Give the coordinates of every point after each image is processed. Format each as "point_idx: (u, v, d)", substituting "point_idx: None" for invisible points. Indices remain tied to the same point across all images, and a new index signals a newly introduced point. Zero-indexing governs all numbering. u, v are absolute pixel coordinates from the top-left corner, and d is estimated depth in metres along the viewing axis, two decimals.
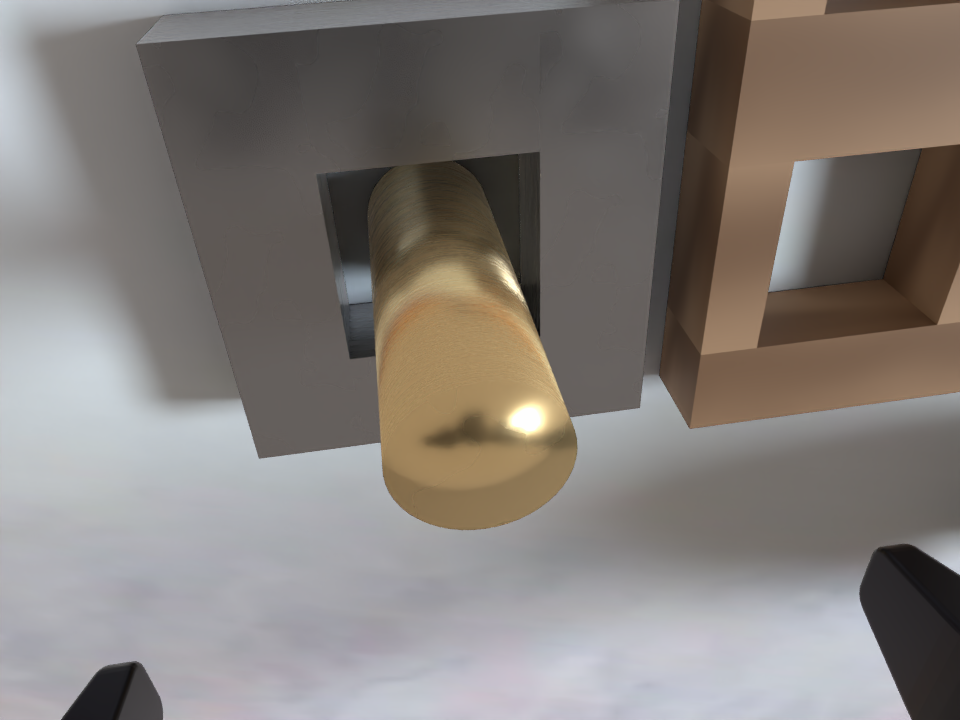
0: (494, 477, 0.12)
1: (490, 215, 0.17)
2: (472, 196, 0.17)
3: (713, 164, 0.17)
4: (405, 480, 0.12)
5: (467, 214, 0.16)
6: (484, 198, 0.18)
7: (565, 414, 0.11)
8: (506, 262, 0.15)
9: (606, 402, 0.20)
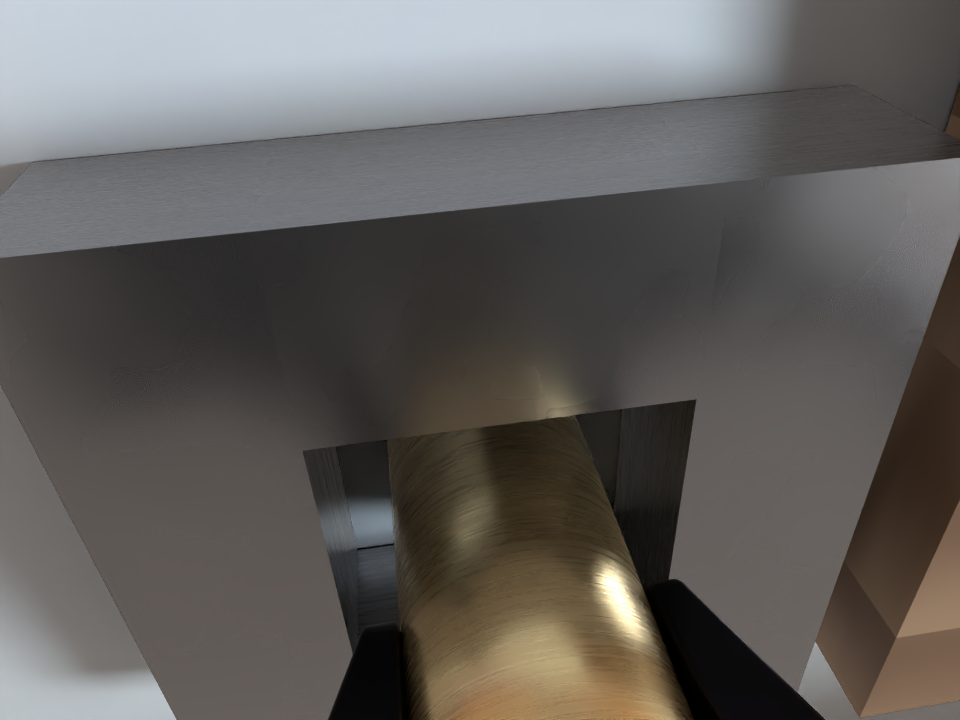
0: None
1: (595, 476, 0.10)
2: (566, 450, 0.10)
3: (957, 383, 0.10)
4: None
5: (570, 512, 0.09)
6: (578, 429, 0.11)
7: None
8: (650, 627, 0.08)
9: None
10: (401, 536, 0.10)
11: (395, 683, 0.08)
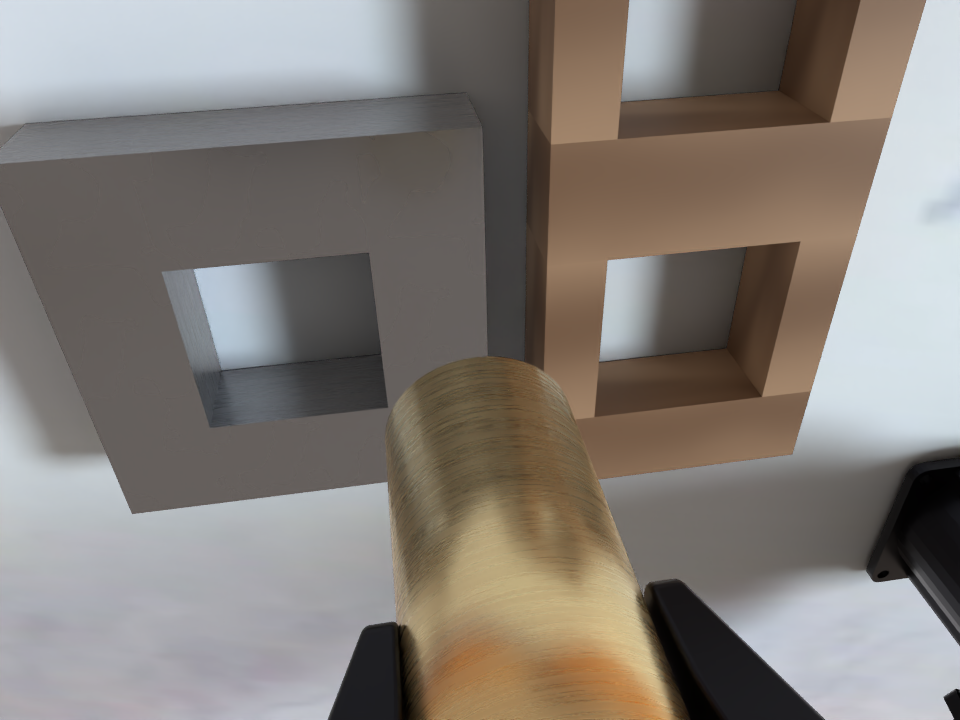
0: None
1: (593, 477, 0.10)
2: (564, 450, 0.10)
3: (540, 258, 0.19)
4: None
5: (568, 513, 0.09)
6: (576, 430, 0.11)
7: None
8: (647, 628, 0.08)
9: None
10: (398, 537, 0.10)
11: (395, 683, 0.08)
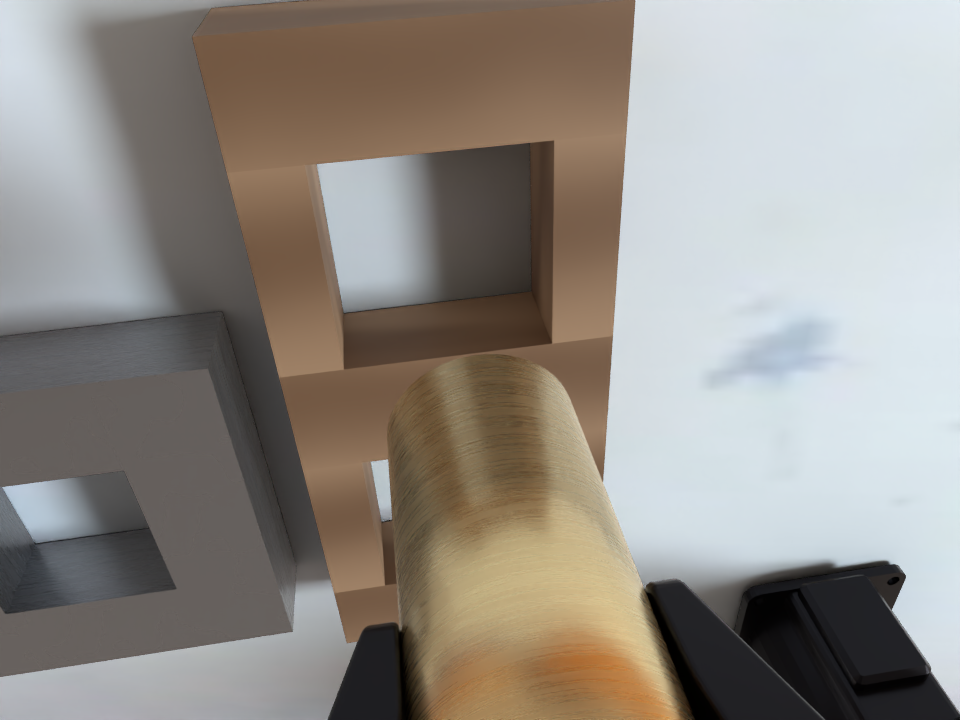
0: None
1: (596, 474, 0.10)
2: (567, 448, 0.10)
3: None
4: None
5: (571, 510, 0.09)
6: (578, 428, 0.11)
7: None
8: (651, 625, 0.08)
9: (259, 629, 0.23)
10: (401, 534, 0.10)
11: (395, 683, 0.08)
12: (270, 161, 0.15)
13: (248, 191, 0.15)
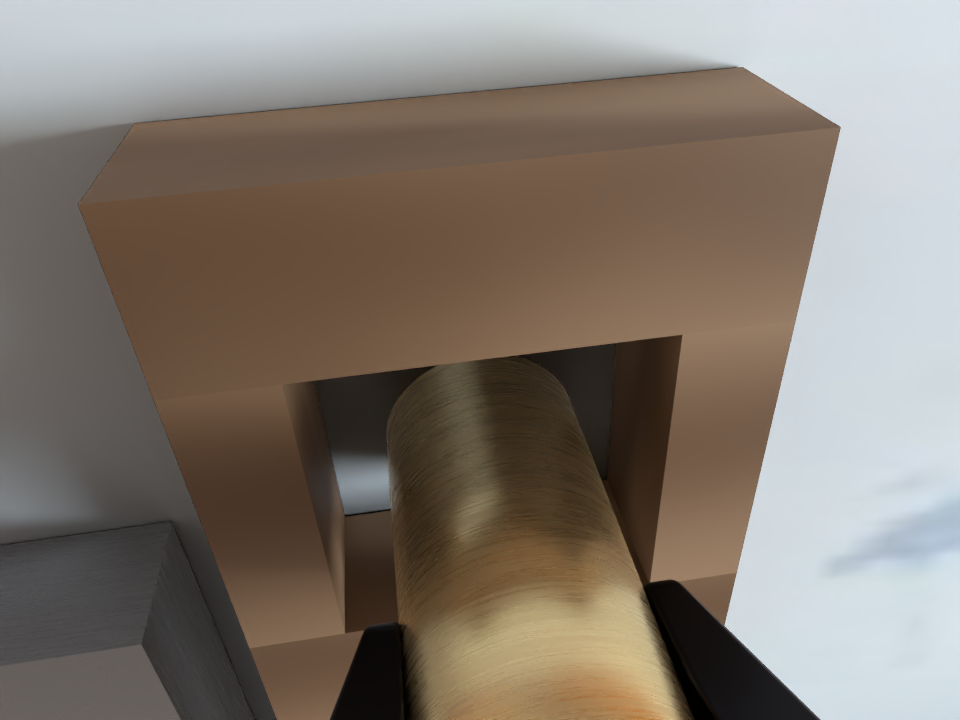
0: None
1: (595, 474, 0.10)
2: (566, 447, 0.10)
3: None
4: None
5: (571, 509, 0.09)
6: (577, 427, 0.11)
7: None
8: (650, 624, 0.08)
9: None
10: (400, 533, 0.10)
11: (397, 683, 0.08)
12: (225, 382, 0.09)
13: (191, 424, 0.09)
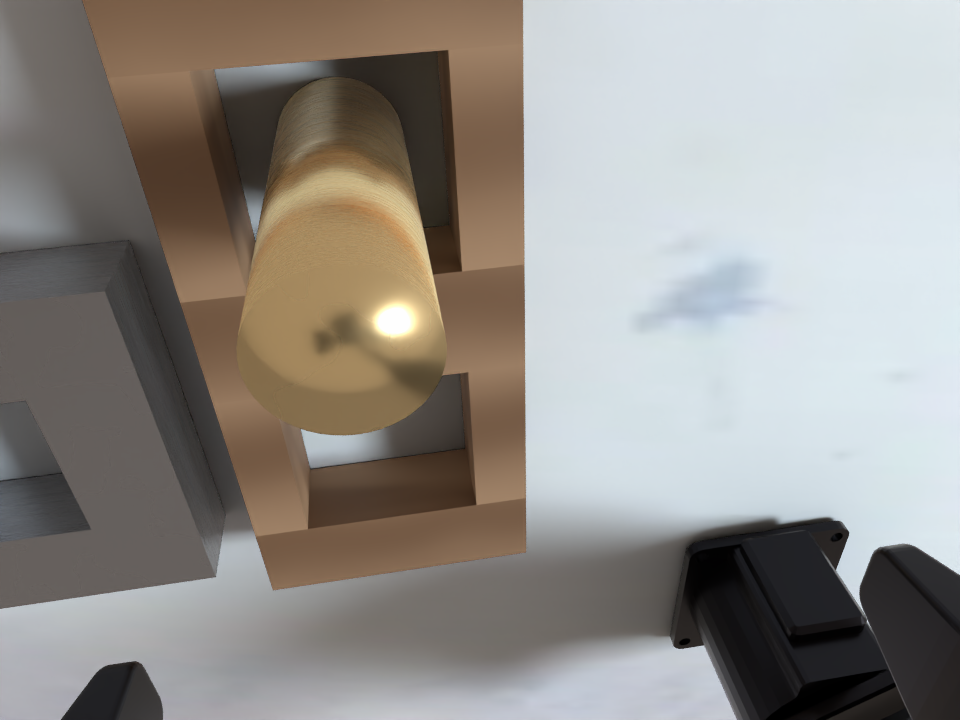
0: (360, 375, 0.11)
1: (396, 133, 0.16)
2: (376, 113, 0.16)
3: None
4: (263, 376, 0.11)
5: (365, 126, 0.15)
6: (394, 119, 0.17)
7: (429, 304, 0.11)
8: (400, 172, 0.14)
9: (180, 574, 0.22)
10: (271, 159, 0.16)
11: None
12: (152, 66, 0.14)
13: (131, 98, 0.15)
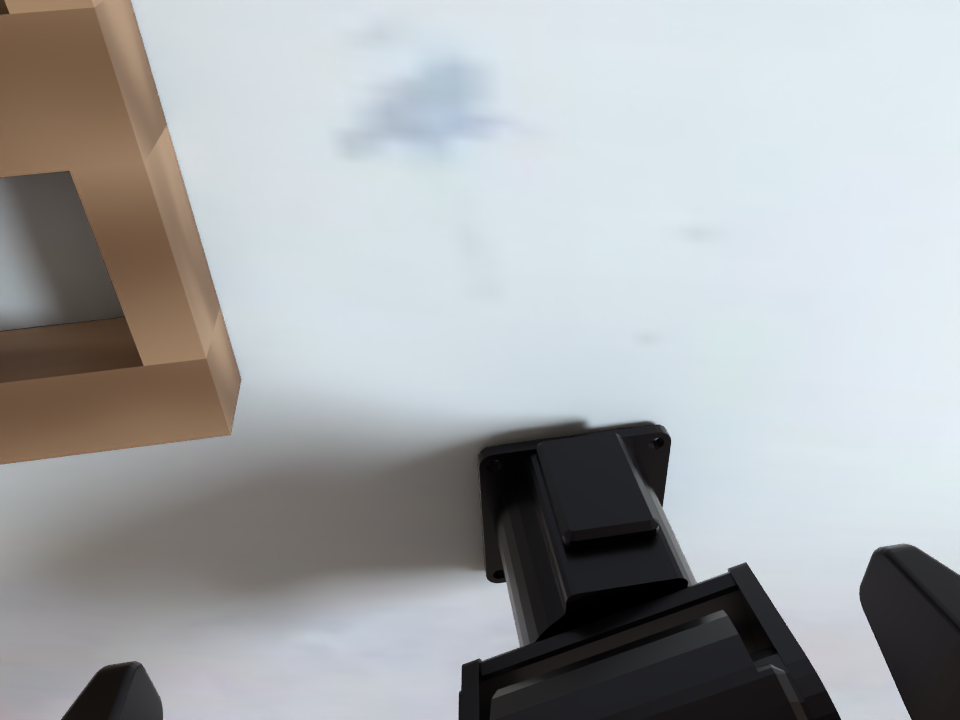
0: None
1: None
2: None
3: None
4: None
5: None
6: None
7: None
8: None
9: None
10: None
11: None
12: None
13: None
